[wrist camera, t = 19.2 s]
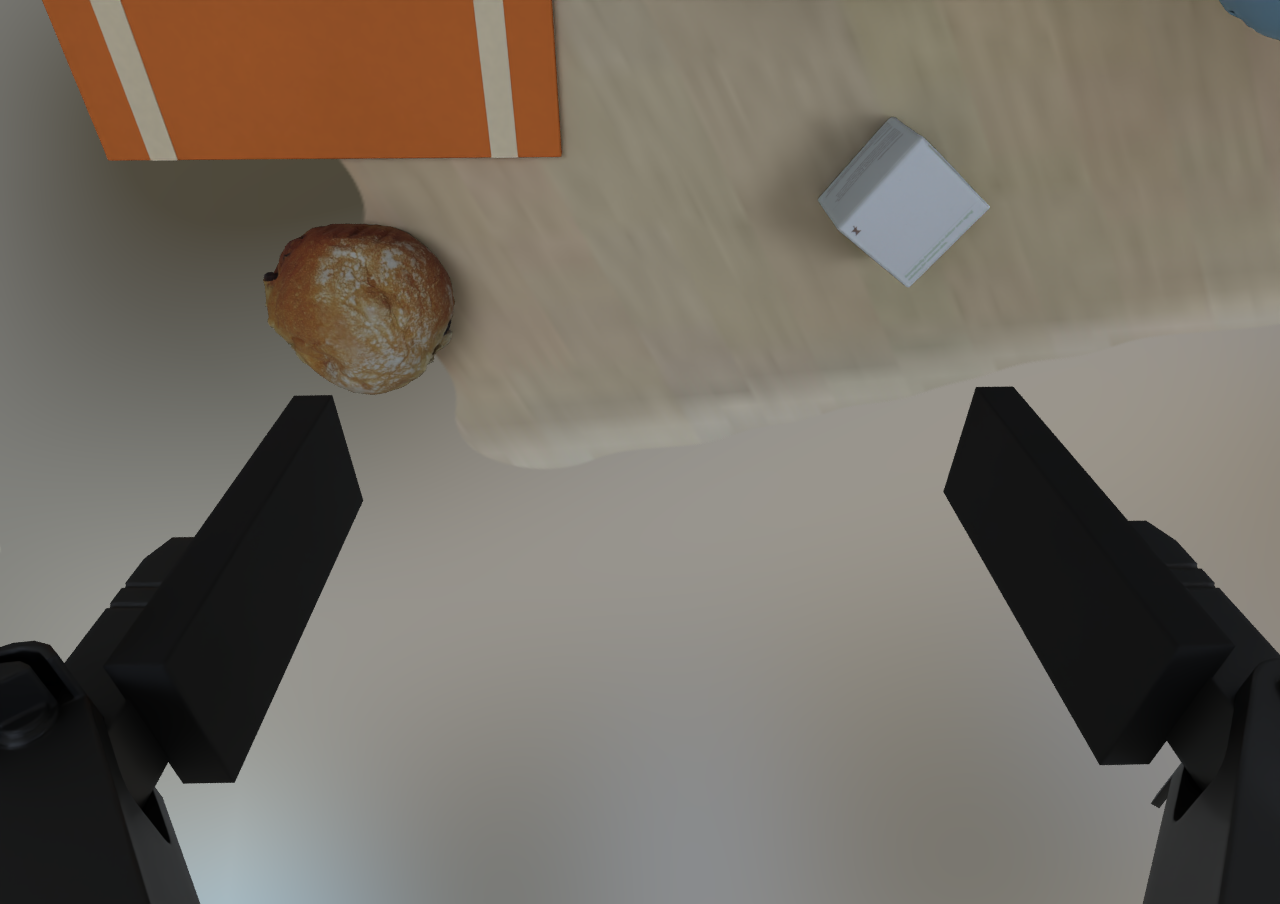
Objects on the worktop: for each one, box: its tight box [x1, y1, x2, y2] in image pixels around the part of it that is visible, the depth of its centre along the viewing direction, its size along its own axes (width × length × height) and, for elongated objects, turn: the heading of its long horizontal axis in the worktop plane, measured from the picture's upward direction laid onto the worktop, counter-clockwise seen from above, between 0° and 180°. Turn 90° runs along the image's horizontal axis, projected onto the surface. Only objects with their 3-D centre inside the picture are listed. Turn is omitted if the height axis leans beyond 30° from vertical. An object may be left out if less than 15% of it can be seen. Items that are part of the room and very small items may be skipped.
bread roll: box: [263, 224, 455, 395], centre depth 42 cm, size 10×10×8 cm
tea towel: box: [42, 0, 562, 161], centre depth 35 cm, size 12×24×1 cm, turn 90°
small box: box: [818, 117, 990, 287], centre depth 38 cm, size 6×6×5 cm
